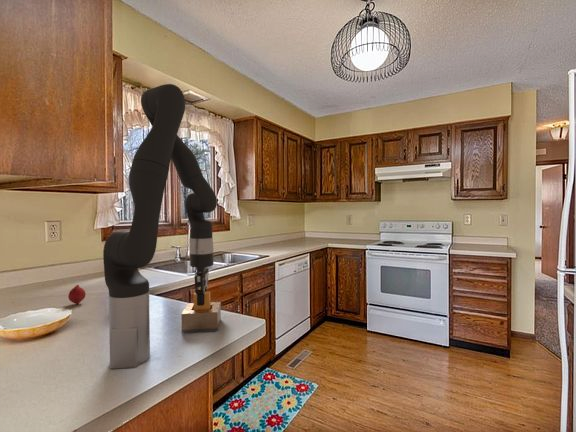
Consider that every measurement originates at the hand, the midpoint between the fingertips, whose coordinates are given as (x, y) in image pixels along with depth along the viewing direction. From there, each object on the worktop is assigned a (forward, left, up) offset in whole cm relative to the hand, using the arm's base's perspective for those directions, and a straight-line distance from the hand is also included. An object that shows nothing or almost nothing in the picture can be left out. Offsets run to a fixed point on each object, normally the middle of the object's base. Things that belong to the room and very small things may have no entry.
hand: (202, 302), depth 102 cm
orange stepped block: (0, 0, -7) cm, 7 cm away
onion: (+32, +55, -8) cm, 64 cm away
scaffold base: (0, 0, -8) cm, 8 cm away
